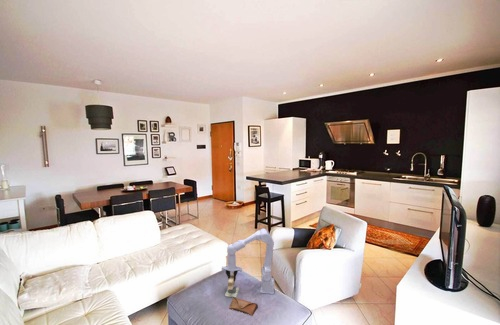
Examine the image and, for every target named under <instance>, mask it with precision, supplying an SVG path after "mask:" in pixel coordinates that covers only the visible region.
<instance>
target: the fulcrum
mask: <svg viewBox="0 0 500 325" xmlns="http://www.w3.org/2000/svg"><path fill="white" fill-rule="evenodd" d="M239 290H240V287H237V286H233V289H232V290H231V289H228V288H227V290H226V292H225V294H224V297H228V298H233V297H235V298H237V296H238V293H239Z"/></svg>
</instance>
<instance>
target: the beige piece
mask: <svg viewBox="0 0 500 325" xmlns="http://www.w3.org/2000/svg"><path fill="white" fill-rule="evenodd" d="M233 273H234V271H231V272H230V278H229V279H228V281H227V289H231V290H232V289H233V287H235V286H234V285H235V283H236V280H237V278H236V279H235V281H234V274H233Z"/></svg>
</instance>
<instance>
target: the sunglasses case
mask: <svg viewBox="0 0 500 325" xmlns="http://www.w3.org/2000/svg"><path fill="white" fill-rule="evenodd" d="M228 308H229V309H228V310H232V309H233V310H232V311H237V312H239V311H240V313H242V312H243V314H245V315H248V314H249V316H252V317H253V316H254V314H255V312H256V311H257V309H258V308H259V307H258V304H257V303H256V302H251V301H249V300H244V299H241V298H239V297H238V298H237V297H236V298H235V297H232V300H231V302H230V305H229V307H228Z"/></svg>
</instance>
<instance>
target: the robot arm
mask: <svg viewBox="0 0 500 325" xmlns="http://www.w3.org/2000/svg"><path fill="white" fill-rule="evenodd" d="M254 241H257V242H258V241H259V242H263V243H265V244H266V246H265V254H264V261H263V264H262V267H261V269H260V272H261V277H260V278H261V282H260V283H261V284H260V285H261V287H260V291H259V292H260V293H261V294H271V295H274V293H275V289H276V288H275V278H274V277H272V269H271V268H272V259H273V254H274V253H273V252H274V245H275V244H274V243H275V242H274V240H273V238H272V236H271V234H270V232H269V230H268V229H266V228H260V229H258V230H257V231H256V232H254V233H253V234H251V235H250V236H248V237H246V238H245V239H238V240H237V241H236V242H233V243H231V244H228V245H227V247H226V249H227V251H226V253H227V266H221V271H223V272H224V271H225V274H226V277H227V279H228V280H229V278H230V276H231V272H233V274H234V281H235V282H236V280H237V274H238V272H240V273H242V272H243V267H241V266H240V267H239V266H237V262H236V261H237V260H236V258H237V257H236V252H238V251H240V250H242V249H244V248H246V245H247V244H249V243H252V242H254ZM235 279H236V280H235Z"/></svg>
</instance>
